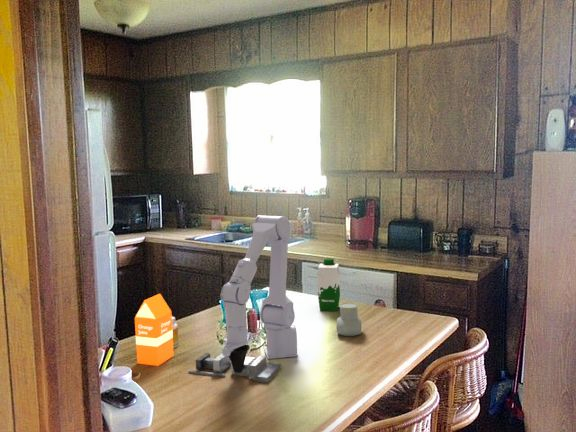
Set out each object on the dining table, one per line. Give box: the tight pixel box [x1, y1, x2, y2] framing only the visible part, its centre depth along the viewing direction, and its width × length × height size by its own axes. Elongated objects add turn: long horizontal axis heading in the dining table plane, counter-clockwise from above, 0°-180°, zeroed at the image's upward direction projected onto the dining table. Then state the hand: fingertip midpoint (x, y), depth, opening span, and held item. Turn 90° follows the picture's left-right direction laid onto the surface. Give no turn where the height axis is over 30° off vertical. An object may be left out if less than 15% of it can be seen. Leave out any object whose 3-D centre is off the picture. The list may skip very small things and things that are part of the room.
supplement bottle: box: [172, 316, 180, 349], centre depth 179 cm, size 5×5×10 cm
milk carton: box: [316, 257, 341, 312], centre depth 217 cm, size 9×9×20 cm
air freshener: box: [336, 303, 362, 337], centre depth 186 cm, size 11×8×10 cm
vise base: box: [188, 354, 282, 384], centre depth 156 cm, size 25×10×4 cm, turn 70°
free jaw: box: [195, 352, 231, 374], centre depth 159 cm, size 8×7×4 cm
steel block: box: [230, 356, 257, 377], centre depth 156 cm, size 5×6×4 cm
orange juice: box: [134, 293, 175, 366], centre depth 167 cm, size 8×9×20 cm
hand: (238, 371), depth 152 cm, fingers closed
